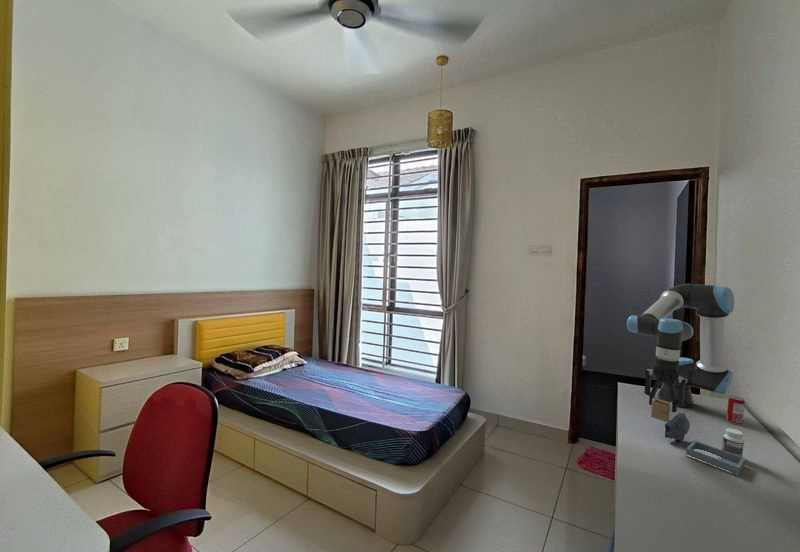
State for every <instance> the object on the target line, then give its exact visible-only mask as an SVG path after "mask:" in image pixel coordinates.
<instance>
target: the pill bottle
mask: <svg viewBox="0 0 800 552" xmlns="http://www.w3.org/2000/svg"><path fill="white" fill-rule="evenodd" d="M743 436H744V434H743V432H742V431H740V430H738V429H734V428H730V427H727V428H725V434H723V436H722V445H721V450H724V451H727V452H729V453H732V454H735V455H738V456H741V457H743V455H744V453H743V452H744V443H745V440H744V439H743Z"/></svg>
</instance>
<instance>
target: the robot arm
mask: <svg viewBox="0 0 800 552" xmlns="http://www.w3.org/2000/svg"><path fill="white" fill-rule="evenodd" d="M681 308H687V309H695V314H696V315H697V316H698V317H699V322H700V323H699V349H700V350H699V354H700V355H699V356H700V357H699V358H700V359H699V360H698V361H696V363H695V361H694V360H693V359H692V358H688V357H680V356H681V349H682V348H681V346H682V342H685V341H688V340H689V339H691V338H692V337H693V336H694V328H693V326H692V325H691V324H690V323H688V322H685V321H682V320H681V319H676V318H675V319H674V318H669V316H670V315H671V314H672V313H673V312H674V311H675V310H679V309H681ZM734 309H735V296H734V293H733V291H732V289H731V288H730V287H728V286H720V285H718V284H717V285H711V284H696V283H683V284H679V285H675V286H672V287H670V288H668V289H666V290H664V291H663V292H662V293H661V294H660V296H659V299H658V300H656V301H655V302H654V303H653V304H651V306H650V307H649V308H648V309H646V310H645V311H644V312H642V314H640V315H629V317H628V318H627V321H626V328H627V330H628V332H629V333H634V334H637V335H644V336H649V337H655V338H656V339H657V340H656V348H655V356H656V357H655V359H654V367H653V369H649V368H648V369H645V371H644V373H645V382H644V383H645V385H644V394H645V395H647V396H648V397H649V400H648V404H649V405H650V406H652V404H653V402H654V401H656V400H657V399H659V400H663V401H666V402H670V405H669V416H668V420H670V421H671V420H672V419H673V417H674V413H677V410H678V407H679V408H693V407H694V398H693V394H692V391H691V389H692V388H691V387H693V388H696V389H701V390H705V391H708V392H712V393H716V394H721V395H725V394H727V392H728V391H729V389H730V388H731V384H732V382H733V378H734V372H733V371H731V370H729V366H728V365H727V364H726V363H725V318H727V317H728V316H729V315H730V313H733V311H734ZM653 374H654V376H655V378H656V379H655V381H654V384H653V386H652V385H651V384H652V377H653ZM661 384H662V385H661ZM651 386H652V387H651ZM659 387H660V388H659ZM650 411H651V412H650V415H651V414H652V407H651V410H650Z"/></svg>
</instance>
